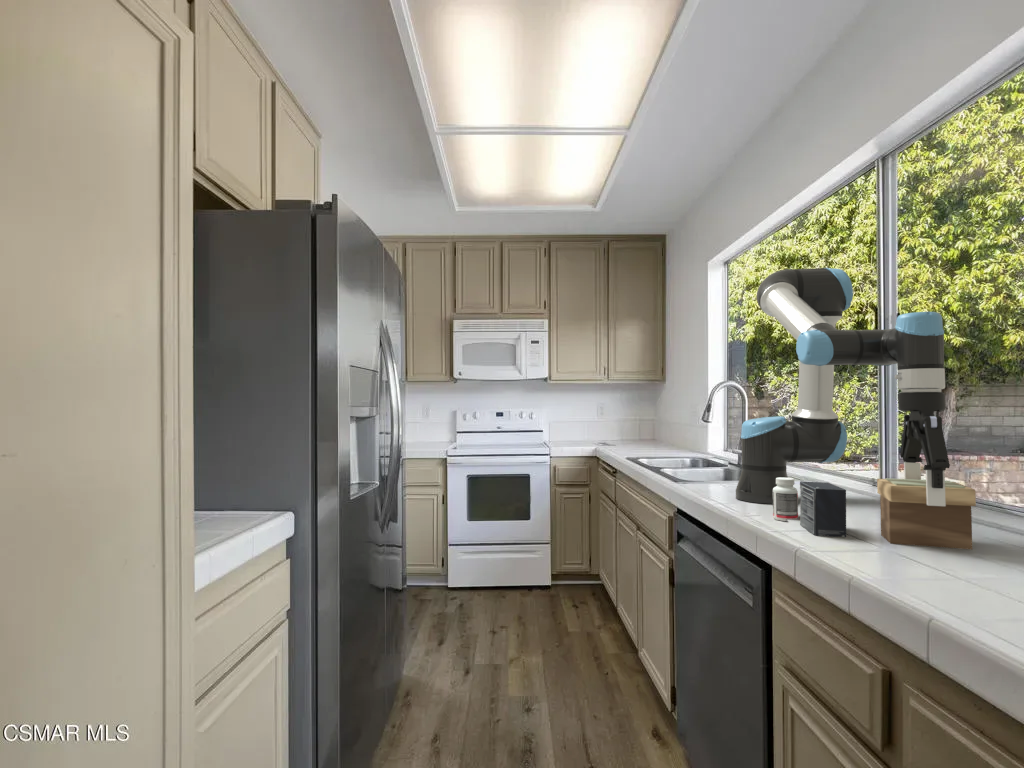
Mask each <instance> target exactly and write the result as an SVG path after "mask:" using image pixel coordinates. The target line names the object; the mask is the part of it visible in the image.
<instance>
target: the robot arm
mask: <svg viewBox="0 0 1024 768" xmlns="http://www.w3.org/2000/svg"><path fill="white" fill-rule="evenodd" d="M853 288H854V287H853V284H852V280H851V278H850V277H849V275H848V273H846V271H844V270H843V269H842V268H841V269H840V268H833V267H831V268H830V267H822V268H821V267H817V268H794V269H793V268H786V269H782V270H778V271H775V272H772V273H771V274H769V275H768V276H767V277H765V279H764V280H763V281H762V282H761V283H760V285H759V286H758V288H757V292H756V301H757V304H758V306H759V308H760V310H761V311H762V312H763V313H764V314H766V316H769V317H771V318H775V320H776V321H777V322H779V323H780V325H781V326H782V327H783V328H784V329H785V330H786V331H787V332H788V333H789V334H790V335H791V336H792V337H793V338H794V340H795V341H796V346H795V347H796V348H795V350H796V355H797V358H798V361H799V362H798V363H799V365H798V366H799V367H798V395H797V398H798V399H797V401H798V402H797V409H796V410H795V411H794V412H792V413H791V421H788V420H787V419H786V416H782V415H781V416H779V415H777V416H765V417H756V418H751V419H747V420H745V421H743V423H742V424H741V434H740V438H741V441H740V442H741V443H740V444H741V473H740V476H739V478H738V482H737V485H736V488H735V499H737V500H740V501H745V502H748V503H757V504H767V505H768V504H769V505H770V504H771V505H773V488H774V487H776V486H777V484H776V478H779V477H784V478H789V476H788V472H787V464H788V463H817V464H823V463H833V462H837V461H839V459H841V457H842V456H843V454H844V453H845V451H846V448H847V445H848V432H847V428H846V426H845V424H844V423H843V422H841V421H840V420H839V415H838V414H837V413H836V412H835V411H834V410H833V407H834V405H833V404H834V402H833V401H834V398H833V397H834V376H835V366H845V365H846V366H847V365H848V366H849V365H851V366H852V365H854V366H855V365H856V366H859V365H861V366H862V365H865V366H868V365H873V366H879V367H880V366H881V367H882V366H884V367H885V366H886V367H888V366H892V365H897V373H896V374H895V375H894V379H895V380H897V386H898V387H897V389H898V390H901V392H899V393H898V394H897V401H898V403H897V405H898V406H897V408H898V410H899V411H900V412H910V413H909V414H904V415H903V431H902V438H901V448H900V454H899V455H900V459H902V460H903V466H904V467H903V470H904V471H903V472H904V475H903V476H904V477H903V479H918V480H922V472H921V471H922V467H921V463H923V458H922V457H920V456H921V454H922V453H923V455H924V458H925V463H926V464H924V466H923V471H925V480H926V499H927V505H928V506H946V502H945V481H946V476H945V475H946V474H945V471H946V470H947V469H949V468H950V466H951V464H950V461H949V455H948V451H947V445H946V440H945V436H944V435H945V434H944V431H943V419H942V416H935V414H934V413H935V412H944V411H945V410H946V394H945V393H944V392H943V391H942V390H945V388H946V372H945V371H946V368H945V329H944V327H943V316H942V315H941V314H940V313H939V312H936V311H916V312H915V311H914V312H906V313H902V314H899V315H898V316H897V317H896V323H895V326H894V328H888V329H887V328H886V329H837V328H836V324H837V323H838V322H839V321H840V320H841V319H842V318H843V312H845V311H847V310H849V308H850V307H851V305H852V302H853V298H854V290H853ZM922 451H923V452H922Z"/></svg>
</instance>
